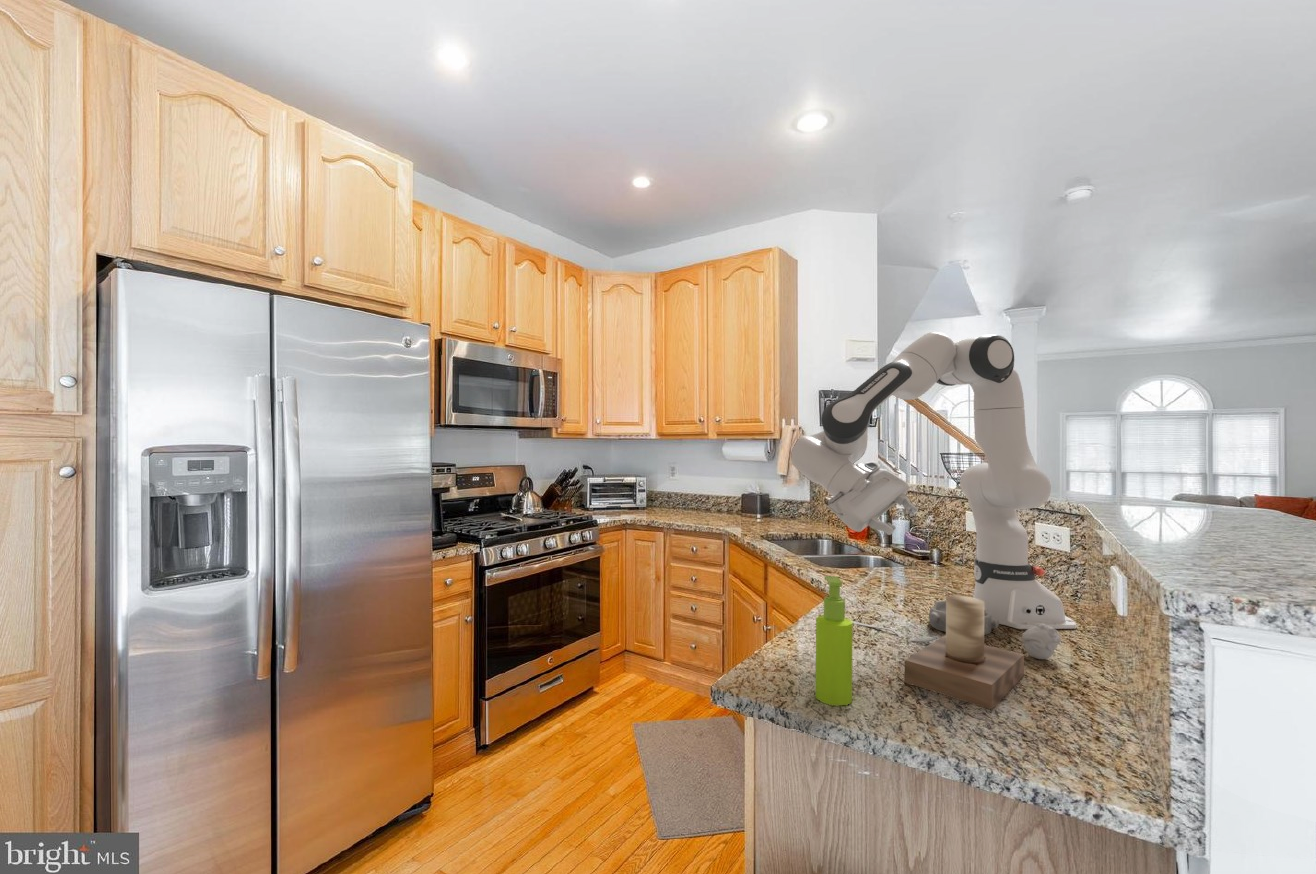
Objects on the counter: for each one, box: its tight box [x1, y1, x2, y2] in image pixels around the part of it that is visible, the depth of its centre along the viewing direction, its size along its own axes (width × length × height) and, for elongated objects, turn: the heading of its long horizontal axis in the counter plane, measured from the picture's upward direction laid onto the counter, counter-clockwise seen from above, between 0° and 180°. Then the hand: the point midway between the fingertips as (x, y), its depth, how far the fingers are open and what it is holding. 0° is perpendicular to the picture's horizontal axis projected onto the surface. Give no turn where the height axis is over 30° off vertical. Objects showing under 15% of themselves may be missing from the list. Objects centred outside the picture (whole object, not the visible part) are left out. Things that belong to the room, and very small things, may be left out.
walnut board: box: [904, 634, 1025, 710], centre depth 102 cm, size 20×14×4 cm
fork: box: [851, 620, 938, 643], centre depth 128 cm, size 3×24×2 cm, turn 39°
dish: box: [928, 599, 1000, 636], centre depth 131 cm, size 14×14×5 cm
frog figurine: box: [1021, 623, 1061, 660], centre depth 112 cm, size 6×7×7 cm
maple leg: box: [945, 595, 985, 665], centre depth 102 cm, size 6×6×14 cm
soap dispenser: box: [814, 575, 854, 706], centre depth 94 cm, size 6×7×20 cm
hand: (904, 522), depth 118 cm, fingers open, 8 cm apart
